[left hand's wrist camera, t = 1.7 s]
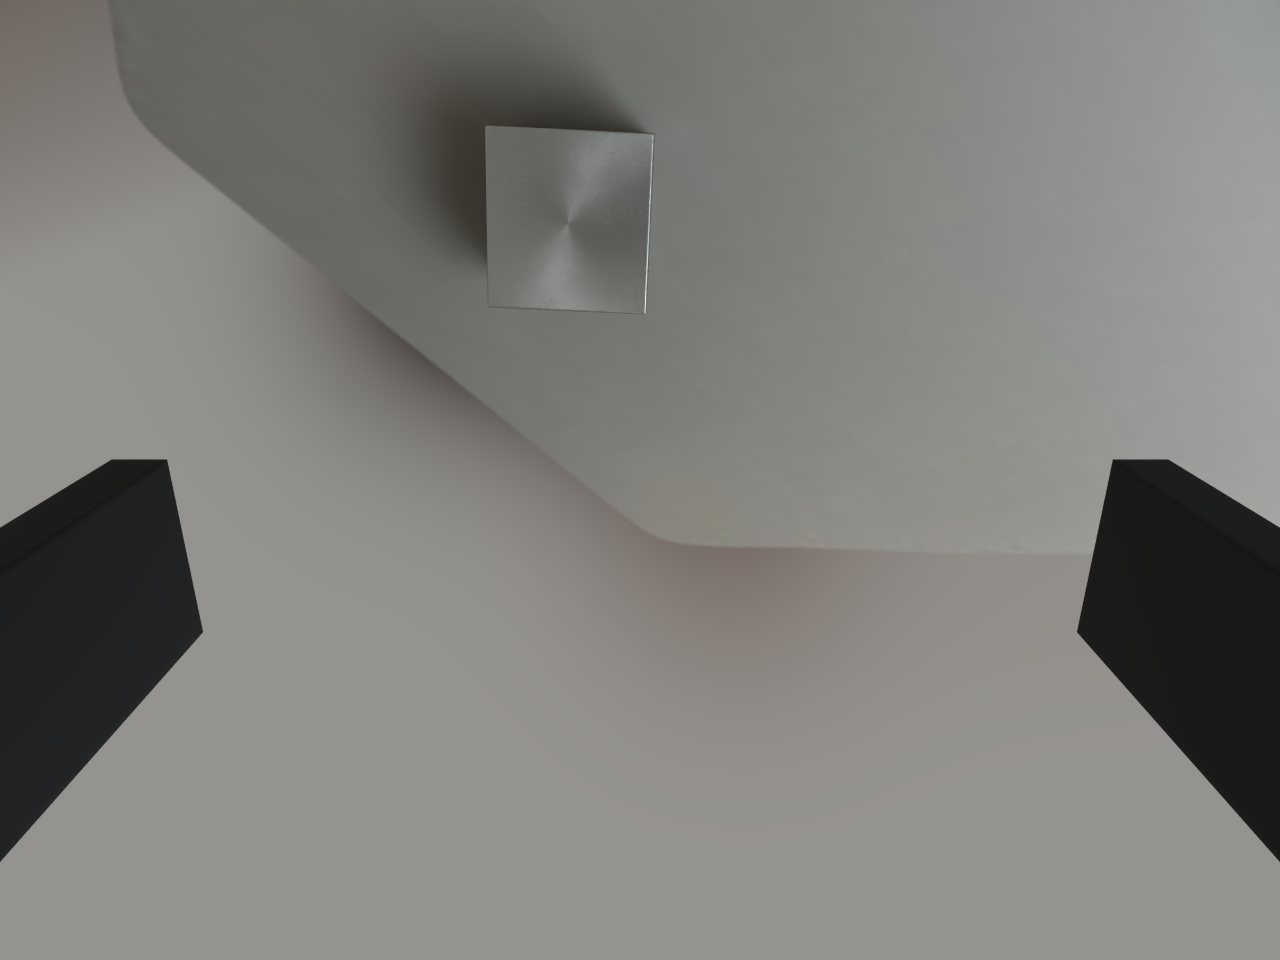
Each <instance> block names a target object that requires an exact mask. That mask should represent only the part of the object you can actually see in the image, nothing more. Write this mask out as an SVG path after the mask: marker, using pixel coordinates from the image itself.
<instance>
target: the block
mask: <svg viewBox="0 0 1280 960" xmlns="http://www.w3.org/2000/svg"><path fill="white" fill-rule="evenodd" d="M654 137H655V135H654V133H640V132H619V131H598V130H578V129H557V128H536V127H515V126H494V125H486V126H485V165H486V224H487V284H488V307H491V308H514V309H537V310H560V311H583V312H606V313H629V314H646V308H647V286H648V265H649V244H650V222H651V201H652V180H653V158H654Z"/></svg>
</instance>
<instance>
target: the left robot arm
mask: <svg viewBox="0 0 1280 960" xmlns="http://www.w3.org/2000/svg"><path fill="white" fill-rule="evenodd" d="M202 633H203V630H202V625H201V620H200V615H199V611H198V606H197V601H196V596H195V591H194V587H193V582H192V577H191V572H190V567H189V563H188V558H187V553H186V548H185V544H184V539H183V534H182V529H181V524H180V519H179V515H178V510H177V505H176V500H175V496H174V491H173V486H172V481H171V476H170V472H169V467H168V462H167V460H110V461H109V462H107V463H105V464H104V465H102V466H101V467H99V468H97V469H96V470H94V471H92V472H91V473H89V474H87V475H86V476H84V477H83V478H81V479H79V480H77V481H76V482H74V483H73V484H71V485H69V486H68V487H66V488H64V489H63V490H61V491H59V492H58V493H56V494H55V495H53V496H51V497H50V498H48V499H46V500H45V501H43V502H41V503H40V504H38V505H37V506H35V507H33V508H32V509H30V510H28V511H27V512H25V513H23V514H22V515H20V516H19V517H17V518H15V519H14V520H12V521H10V522H9V523H7V524H5V525H4V526H2V527H0V861H1V860H2V859H3V858H4V857H5V856H6V855H7V853H8V852H9V851H10V850H11V849H12V848H13V847H14V846H15V844H16V843H17V842H18V841H19V840H20V839H21V838H22V837H23V835H24V834H25V833H26V832H27V831H28V830H29V829H30V827H31V826H32V825H33V824H34V823H35V822H36V821H37V819H38V818H39V817H40V816H41V815H42V814H43V813H44V812H45V810H46V809H47V808H48V807H49V806H50V805H51V804H52V803H53V801H54V800H55V799H56V798H57V797H58V796H59V795H60V793H61V792H62V791H63V790H64V789H65V788H66V787H67V786H68V784H69V783H70V782H71V781H72V780H73V779H74V778H75V776H76V775H77V774H78V773H79V772H80V771H81V770H82V769H83V767H84V766H85V765H86V764H87V763H88V762H89V761H90V759H91V758H92V757H93V756H94V755H95V754H96V753H97V752H98V750H99V749H100V748H101V747H102V746H103V745H104V744H105V743H106V741H107V740H108V739H109V738H110V737H111V736H112V735H113V733H114V732H115V731H116V730H117V729H118V728H119V727H120V726H121V724H122V723H123V722H124V721H125V720H126V719H127V718H128V716H129V715H130V714H131V713H132V712H133V711H134V710H135V709H136V707H137V706H138V705H139V704H140V703H141V702H142V701H143V699H144V698H145V697H146V696H147V695H148V694H149V693H150V692H151V690H152V689H153V688H154V687H155V686H156V685H157V684H158V682H159V681H160V680H161V679H162V678H163V677H164V676H165V675H166V673H167V672H168V671H169V670H170V669H171V668H172V667H173V666H174V664H175V663H176V662H177V661H178V660H179V659H180V658H181V656H182V655H183V654H184V653H185V652H186V651H187V650H188V649H189V647H190V646H191V645H192V644H193V643H194V642H195V641H196V639H197V638H198V637H199V636H200V635H201V634H202ZM1077 633H1078V634H1079V635H1080V636H1081V637H1082V638H1083V639H1084V641H1085V642H1086V643H1087V644H1088V645H1089V646H1090V647H1091V649H1092V650H1093V651H1094V652H1095V653H1096V654H1097V655H1098V656H1099V658H1100V659H1101V660H1102V661H1103V662H1104V663H1105V664H1106V666H1107V667H1108V668H1109V669H1110V670H1111V671H1112V672H1113V673H1114V675H1115V676H1116V677H1117V678H1118V679H1119V680H1120V681H1121V682H1122V684H1123V685H1124V686H1125V687H1126V688H1127V689H1128V690H1129V692H1130V693H1131V694H1132V695H1133V696H1134V697H1135V698H1136V699H1137V701H1138V702H1139V703H1140V704H1141V705H1142V706H1143V707H1144V709H1145V710H1146V711H1147V712H1148V713H1149V714H1150V715H1151V716H1152V718H1153V719H1154V720H1155V721H1156V722H1157V723H1158V724H1159V726H1160V727H1161V728H1162V729H1163V730H1164V731H1165V732H1166V733H1167V735H1168V736H1169V737H1170V738H1171V739H1172V740H1173V741H1174V742H1175V744H1176V745H1177V746H1178V747H1179V748H1180V749H1181V750H1182V752H1183V753H1184V754H1185V755H1186V756H1187V757H1188V758H1189V759H1190V761H1191V762H1192V763H1193V764H1194V765H1195V766H1196V767H1197V769H1198V770H1199V771H1200V772H1201V773H1202V774H1203V775H1204V776H1205V778H1206V779H1207V780H1208V781H1209V782H1210V783H1211V784H1212V786H1213V787H1214V788H1215V789H1216V790H1217V791H1218V792H1219V793H1220V795H1221V796H1222V797H1223V798H1224V799H1225V800H1226V801H1227V803H1228V804H1229V805H1230V806H1231V807H1232V808H1233V809H1234V810H1235V812H1236V813H1237V814H1238V815H1239V816H1240V817H1241V818H1242V820H1243V821H1244V822H1245V823H1246V824H1247V825H1248V826H1249V827H1250V829H1251V830H1252V831H1253V832H1254V833H1255V834H1256V835H1257V837H1258V838H1259V839H1260V840H1261V841H1262V842H1263V843H1264V844H1265V846H1266V847H1267V848H1268V849H1269V850H1270V851H1271V852H1272V853H1273V855H1274V856H1275V857H1276V858H1277V859H1278V860H1279V861H1280V527H1278V526H1276V525H1275V524H1273V523H1271V522H1270V521H1268V520H1266V519H1265V518H1263V517H1262V516H1260V515H1258V514H1257V513H1255V512H1253V511H1252V510H1250V509H1248V508H1247V507H1245V506H1243V505H1242V504H1240V503H1239V502H1237V501H1235V500H1234V499H1232V498H1230V497H1229V496H1227V495H1225V494H1224V493H1222V492H1221V491H1219V490H1217V489H1216V488H1214V487H1212V486H1211V485H1209V484H1207V483H1206V482H1204V481H1203V480H1201V479H1199V478H1198V477H1196V476H1194V475H1193V474H1191V473H1189V472H1188V471H1186V470H1184V469H1183V468H1181V467H1180V466H1178V465H1176V464H1175V463H1173V462H1171V461H1170V460H1113V462H1112V467H1111V471H1110V476H1109V481H1108V486H1107V491H1106V495H1105V500H1104V505H1103V510H1102V515H1101V519H1100V524H1099V529H1098V534H1097V539H1096V543H1095V548H1094V553H1093V558H1092V563H1091V567H1090V572H1089V577H1088V582H1087V587H1086V591H1085V596H1084V601H1083V606H1082V611H1081V615H1080V620H1079V625H1078V630H1077Z"/></svg>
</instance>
